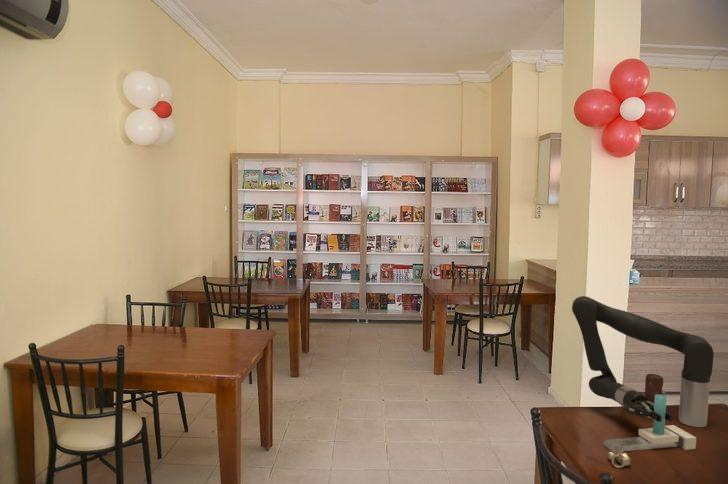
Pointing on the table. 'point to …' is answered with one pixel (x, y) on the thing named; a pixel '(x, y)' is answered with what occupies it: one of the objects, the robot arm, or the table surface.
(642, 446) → the rail
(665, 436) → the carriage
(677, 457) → the table surface
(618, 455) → the silver metal fitting
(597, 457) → the table surface
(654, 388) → the can
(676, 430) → the end stop
